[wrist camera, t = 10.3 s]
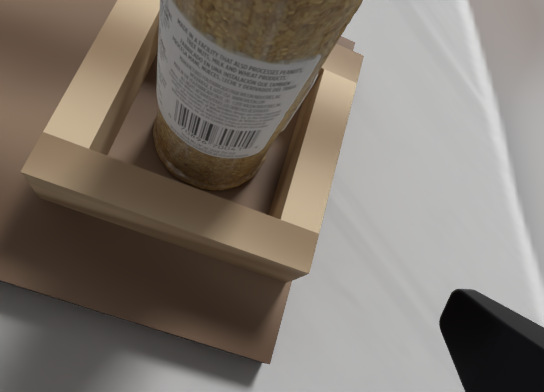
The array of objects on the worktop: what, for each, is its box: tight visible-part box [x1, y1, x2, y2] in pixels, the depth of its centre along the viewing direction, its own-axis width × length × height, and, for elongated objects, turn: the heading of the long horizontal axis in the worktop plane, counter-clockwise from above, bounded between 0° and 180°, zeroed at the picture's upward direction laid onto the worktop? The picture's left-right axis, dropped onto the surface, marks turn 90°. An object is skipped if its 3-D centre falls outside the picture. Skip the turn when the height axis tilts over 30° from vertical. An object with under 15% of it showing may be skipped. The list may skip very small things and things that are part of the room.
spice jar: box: [153, 0, 363, 190], centre depth 11 cm, size 5×5×13 cm
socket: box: [0, 0, 364, 364], centre depth 16 cm, size 15×14×4 cm
